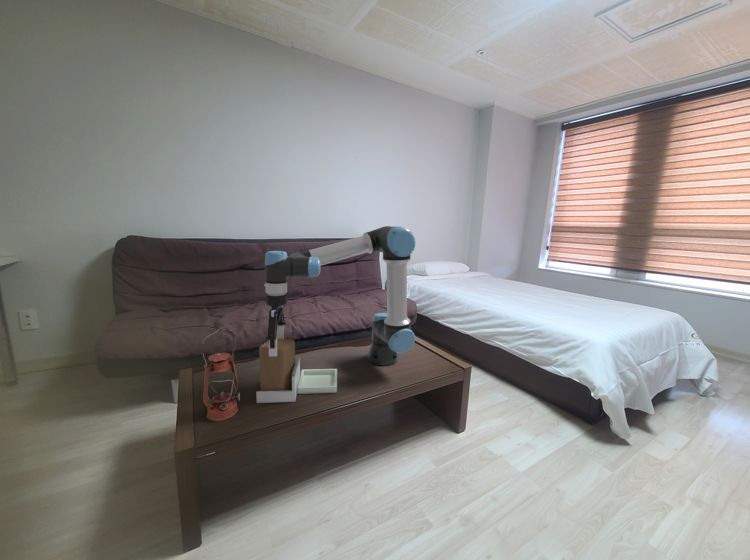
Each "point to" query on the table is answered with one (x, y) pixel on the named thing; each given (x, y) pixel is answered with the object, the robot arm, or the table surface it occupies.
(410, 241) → the robot arm
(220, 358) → the lantern
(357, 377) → the table surface
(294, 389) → the dock
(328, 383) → the tray
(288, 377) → the wooden block
